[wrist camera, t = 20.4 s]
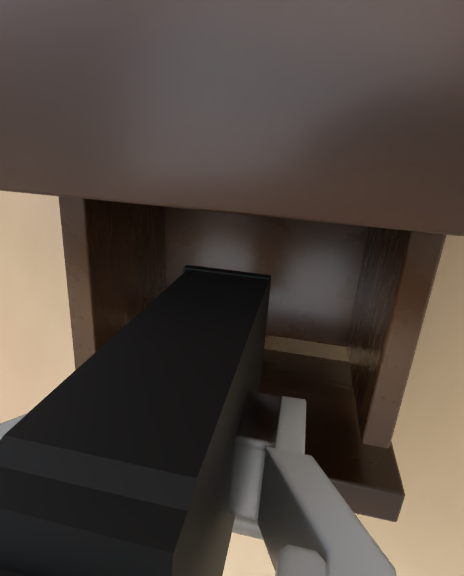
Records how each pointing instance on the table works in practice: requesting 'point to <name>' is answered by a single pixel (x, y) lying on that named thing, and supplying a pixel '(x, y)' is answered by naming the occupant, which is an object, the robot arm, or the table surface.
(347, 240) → the drawer
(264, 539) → the robot arm
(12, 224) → the table surface
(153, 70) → the cabinet
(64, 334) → the table surface
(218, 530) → the ink cartridge
